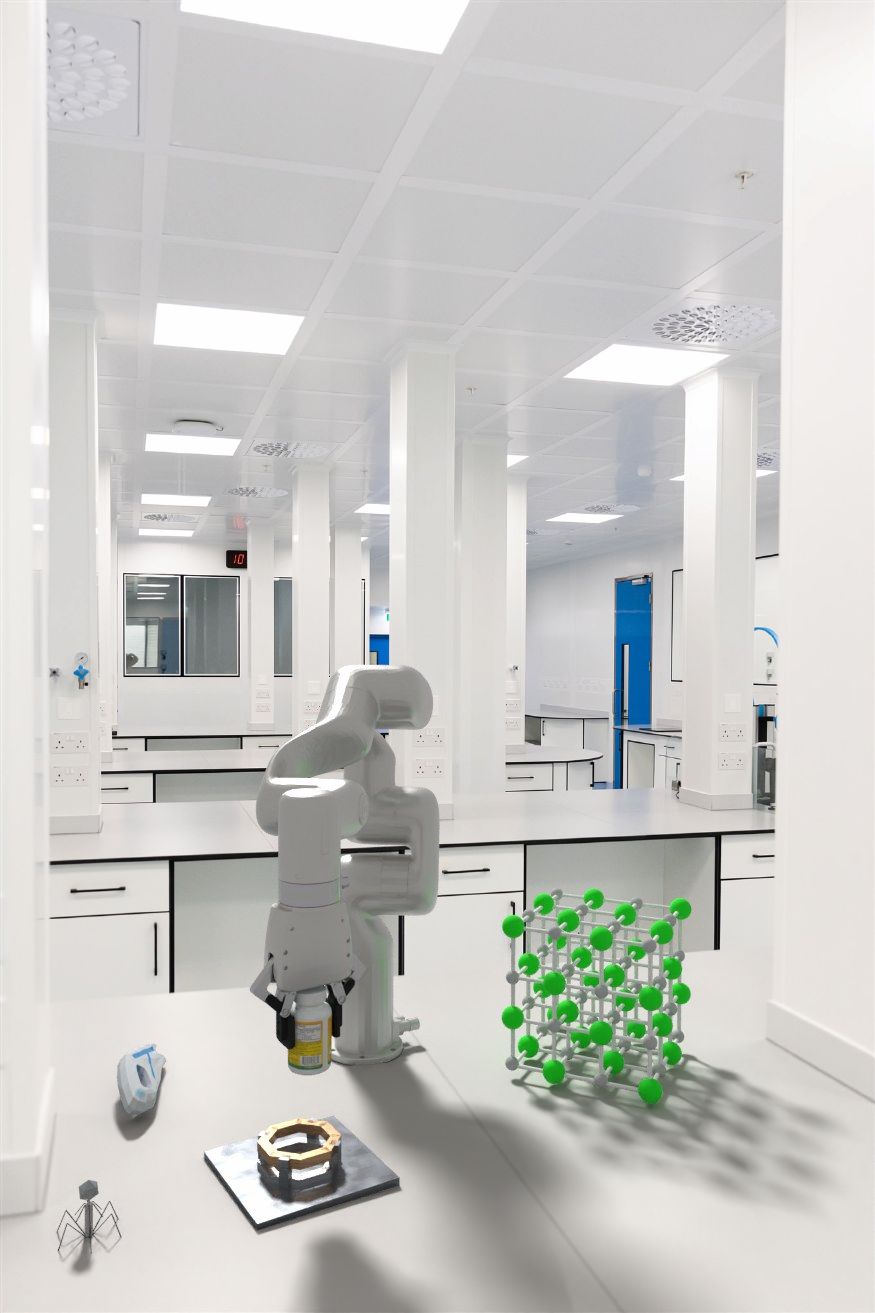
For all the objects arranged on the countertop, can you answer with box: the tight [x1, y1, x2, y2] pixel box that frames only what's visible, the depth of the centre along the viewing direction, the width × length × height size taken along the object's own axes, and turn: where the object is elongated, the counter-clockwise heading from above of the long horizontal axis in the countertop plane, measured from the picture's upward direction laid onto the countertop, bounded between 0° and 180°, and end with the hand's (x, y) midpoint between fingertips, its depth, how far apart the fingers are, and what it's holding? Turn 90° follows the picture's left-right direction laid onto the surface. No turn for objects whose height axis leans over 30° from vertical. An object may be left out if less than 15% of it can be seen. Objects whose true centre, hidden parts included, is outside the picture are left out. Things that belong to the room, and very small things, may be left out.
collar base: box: [203, 1115, 401, 1231], centre depth 120 cm, size 18×18×4 cm
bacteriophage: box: [56, 1179, 123, 1255], centre depth 106 cm, size 7×8×7 cm
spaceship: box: [116, 1043, 167, 1116], centre depth 141 cm, size 23×7×4 cm
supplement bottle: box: [287, 985, 332, 1076], centre depth 119 cm, size 5×5×10 cm
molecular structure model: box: [501, 887, 692, 1105], centre depth 153 cm, size 24×25×24 cm
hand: (309, 1038), depth 119 cm, fingers closed on supplement bottle, 5 cm apart
